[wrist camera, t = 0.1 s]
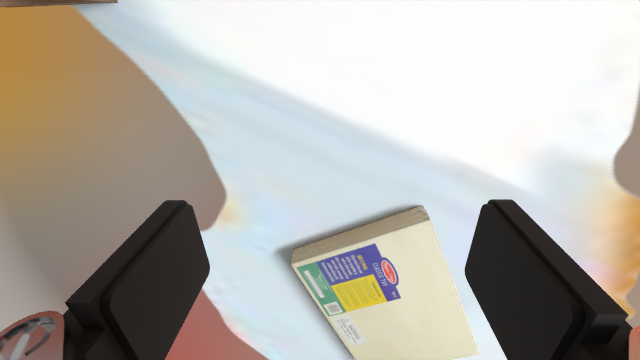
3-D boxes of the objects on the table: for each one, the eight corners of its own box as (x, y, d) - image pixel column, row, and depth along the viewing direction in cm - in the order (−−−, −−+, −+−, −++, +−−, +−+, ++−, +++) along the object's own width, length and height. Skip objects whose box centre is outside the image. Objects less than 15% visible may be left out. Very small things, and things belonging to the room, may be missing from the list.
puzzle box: (364, 356, 66) (472, 334, 60) (365, 377, 62) (481, 356, 56) (292, 244, 51) (425, 200, 45) (288, 262, 47) (434, 217, 41)
